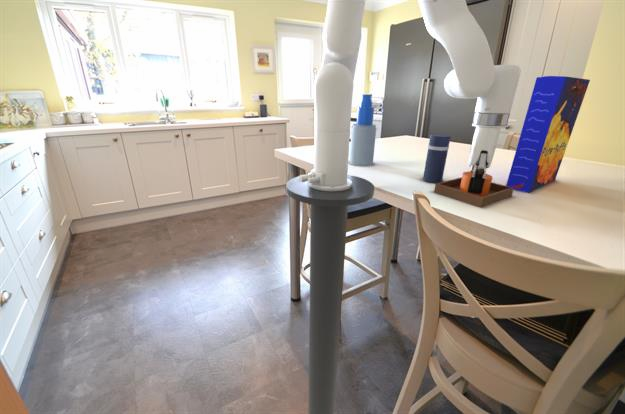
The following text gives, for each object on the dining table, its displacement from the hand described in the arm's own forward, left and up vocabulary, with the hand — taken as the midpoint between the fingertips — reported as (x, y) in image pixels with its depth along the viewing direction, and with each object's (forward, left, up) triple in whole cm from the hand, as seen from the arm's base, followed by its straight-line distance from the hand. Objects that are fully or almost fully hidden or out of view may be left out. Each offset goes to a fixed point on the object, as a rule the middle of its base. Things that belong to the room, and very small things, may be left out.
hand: (474, 188), depth 77 cm
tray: (0, 0, -2) cm, 2 cm away
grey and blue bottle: (-2, +43, -2) cm, 43 cm away
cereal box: (+26, -4, -2) cm, 26 cm away
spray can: (+2, +14, -2) cm, 14 cm away
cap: (0, 0, -1) cm, 1 cm away
